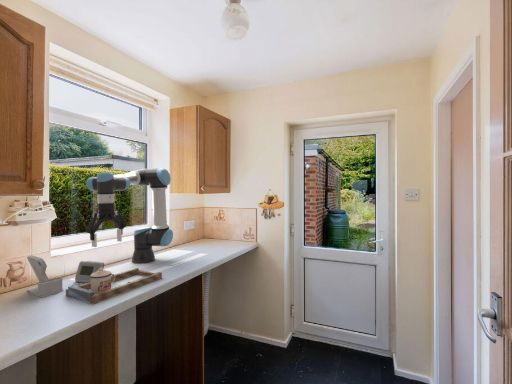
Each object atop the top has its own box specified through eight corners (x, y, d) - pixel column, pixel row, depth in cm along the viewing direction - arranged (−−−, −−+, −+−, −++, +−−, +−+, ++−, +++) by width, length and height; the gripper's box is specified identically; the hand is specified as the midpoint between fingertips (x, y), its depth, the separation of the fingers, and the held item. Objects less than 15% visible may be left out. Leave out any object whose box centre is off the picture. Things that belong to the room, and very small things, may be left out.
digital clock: (73, 282, 147) (72, 262, 147) (89, 277, 155) (89, 258, 155) (91, 286, 140) (91, 266, 140) (107, 281, 148) (107, 261, 148)
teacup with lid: (98, 296, 126) (98, 272, 126) (86, 293, 130) (85, 269, 130) (121, 288, 137) (120, 265, 137) (108, 285, 141) (108, 263, 141)
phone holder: (64, 291, 134) (64, 254, 134) (40, 298, 126) (39, 259, 125) (49, 284, 143) (49, 250, 143) (25, 290, 135) (25, 254, 135)
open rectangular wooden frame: (136, 272, 162) (136, 265, 162) (161, 277, 152) (161, 269, 152) (65, 295, 128) (65, 286, 128) (92, 304, 118) (92, 293, 118)
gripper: (85, 204, 125) (87, 250, 126) (132, 201, 147) (133, 239, 148) (76, 204, 129) (77, 248, 129) (123, 200, 151) (124, 238, 151)
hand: (107, 243), depth 139 cm, fingers open, 13 cm apart
